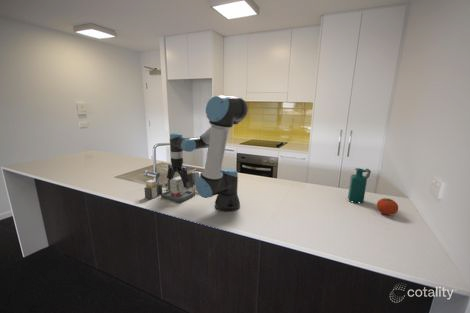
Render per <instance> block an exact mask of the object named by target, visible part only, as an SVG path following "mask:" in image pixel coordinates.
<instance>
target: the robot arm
mask: <svg viewBox="0 0 470 313" xmlns="http://www.w3.org/2000/svg"><path fill="white" fill-rule="evenodd" d="M248 109H249V108H248V105H247V102H246V101H245V100H244V99H243V98H242V97H239V96H228V95H223V94H222V95H214V96H212V97H211V98H209V100H208V101H207V103H206V106H205V114H206V118H207V119H208V124H210V127H208V129H207V130H206V131H205V132H203V133H202V134H201V135H199V136H195V137H183V134H182V133H181V132H180V133H179V132H173V133H170V135H169V147H170V164H168V165H167V167H168V169H167V174H166V178H167V180H168V179H169V182H170V189H169V190H171V179H172V178H175V174H176V173H178V174H179V176H180V177H181V179H182V181H183V183H182V193H184V192H186V190H187V187H188V185H187V184H188V182H190V179H189V178H190V177H189V173H188V171H187V170H188V167H187V166H184V165H183V164H184V153H183V152H184V151H185V152H187V153H189V152H193V151H194V150H201V149H206V148H207V153H206V160H205V165H204V168H203V169H202V170H201V172H200V176H198V177H197V178H196V179H195V182H194V185H195V186H194V187H195V189H196V192H197V194H198V195H199V196H200V197H201V198H203V199H208V198H212V197H214V196H216V199H215V201H214V207H215V208H216V209H217V210H219V211H224V212H232V211H236V210H238V209H239V208H240V207H241V203H240V201H241V200H240V198H239V196H238V195H239V194H238V182H239V176H238V174H239V173H238V171H237V170H236V169H234V168H229V167H223V162H224V157H225V156H224V155H225V151H226V146H227V142H228V141H227V140H228V135H229V131H230V129H232V128H233V126H236V125H238V124H240V123H241V122H242V121H243V120H244V119H246V117H247V114H248V112H249V110H248ZM184 180H185V181H184Z"/></svg>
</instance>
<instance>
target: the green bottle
mask: <svg viewBox="0 0 470 313" xmlns="http://www.w3.org/2000/svg"><path fill="white" fill-rule="evenodd" d="M354 170H355V171H356V172H355V174H351V175H350V178H349V187H348V193H347V200H348V199H349V200H350V201H353V202H360V203H363V204H364V202H365V196H366V189H367V188H366V187H367V182H368V179H369V177H370V175H371V173H372V171H371V170H370V169H369V168H365V169H364V168H360V167H359V168H358V167H357V168H355V169H354ZM363 173H366V174H365V176H364V174H363ZM349 200H348V201H349ZM350 201H349V202H350Z"/></svg>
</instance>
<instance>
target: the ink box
mask: <svg viewBox="0 0 470 313" xmlns="http://www.w3.org/2000/svg"><path fill="white" fill-rule="evenodd" d="M184 181H185V180H184ZM182 183H183V181H182V179H181V177H180V175H179V176H176V177H175V176H174V177H173V178H172V179H171V189H170V190H171V196H174V197H179V196H181V195H184V194H185V192H184V193H182Z"/></svg>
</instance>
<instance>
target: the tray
mask: <svg viewBox="0 0 470 313" xmlns="http://www.w3.org/2000/svg"><path fill="white" fill-rule="evenodd" d="M193 196H194V197H195V196H196V192H195V191H194V190H193V191H192V190H188V189H186V192H185V194H184V195H181V196H179V197H174V196H171V189H168V190H166V191H164V192H162V194H161V195H160V198H161V199H165V200H168V201H171V202H172V201H173V202H174V203H179V204H182V203H184V202H186V201H189V199H192V198H194V197H193Z"/></svg>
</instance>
